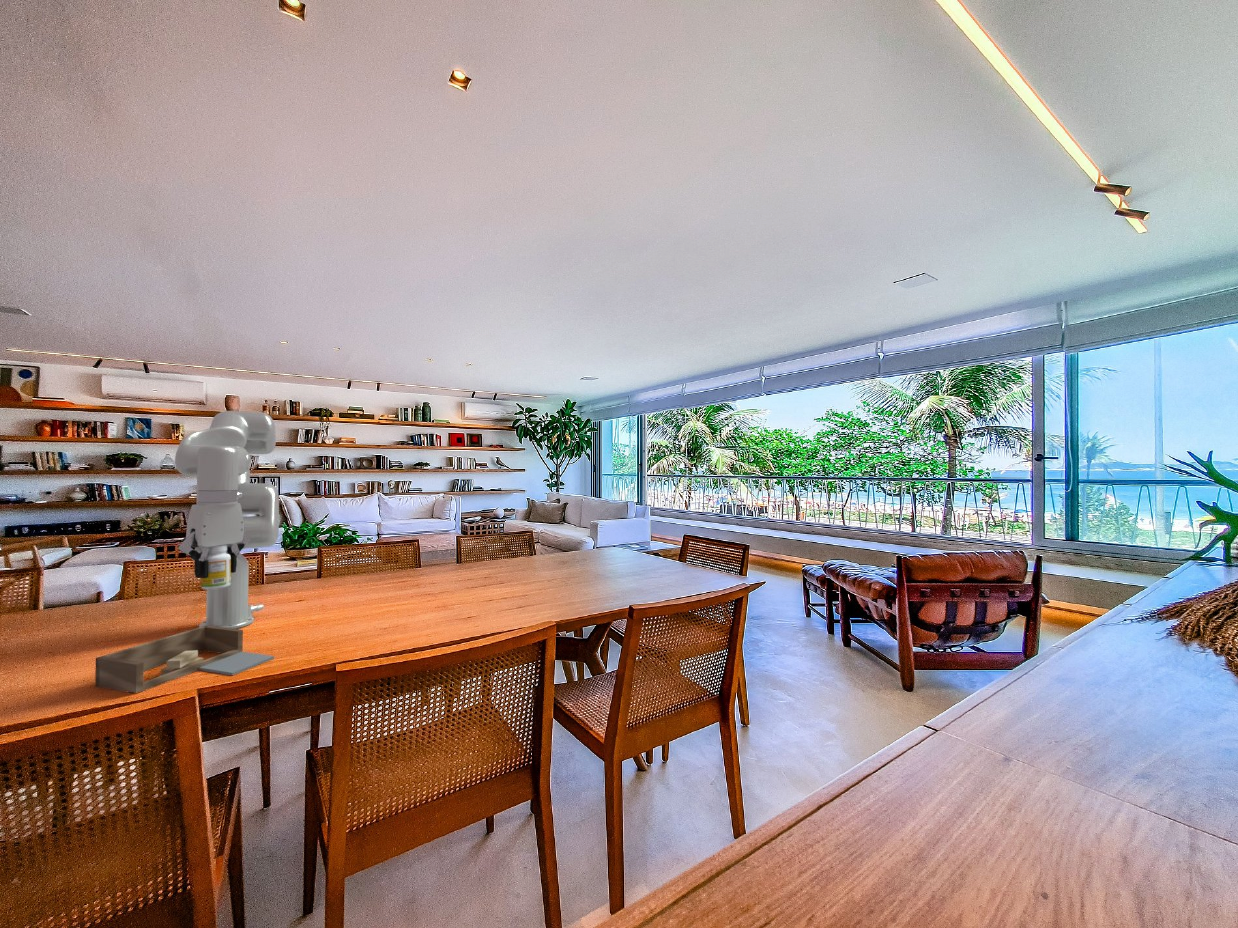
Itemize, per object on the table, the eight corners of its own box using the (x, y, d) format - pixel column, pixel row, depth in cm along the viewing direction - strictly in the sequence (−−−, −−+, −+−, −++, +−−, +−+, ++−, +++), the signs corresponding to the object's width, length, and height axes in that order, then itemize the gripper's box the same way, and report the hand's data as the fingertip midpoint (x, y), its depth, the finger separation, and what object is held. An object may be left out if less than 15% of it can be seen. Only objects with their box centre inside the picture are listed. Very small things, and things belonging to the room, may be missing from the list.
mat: (242, 653, 121) (242, 651, 121) (274, 658, 119) (274, 655, 119) (199, 670, 112) (199, 667, 112) (232, 675, 109) (232, 672, 109)
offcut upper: (185, 658, 114) (185, 650, 114) (197, 657, 115) (197, 650, 115) (166, 668, 108) (166, 660, 108) (179, 668, 109) (180, 660, 109)
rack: (206, 648, 124) (206, 625, 124) (242, 653, 121) (242, 629, 121) (95, 686, 103) (95, 657, 103) (135, 693, 100) (136, 664, 100)
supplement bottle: (213, 584, 117) (213, 544, 117) (236, 584, 117) (236, 543, 117) (194, 590, 111) (194, 547, 111) (218, 589, 111) (219, 547, 112)
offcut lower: (193, 665, 115) (193, 656, 115) (203, 666, 115) (203, 657, 115) (160, 677, 108) (161, 668, 108) (170, 679, 108) (170, 670, 108)
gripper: (243, 495, 124) (241, 566, 123) (163, 499, 107) (161, 581, 107) (265, 496, 121) (263, 568, 121) (187, 500, 105) (185, 584, 105)
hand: (216, 573), depth 114 cm, fingers closed on supplement bottle, 5 cm apart
